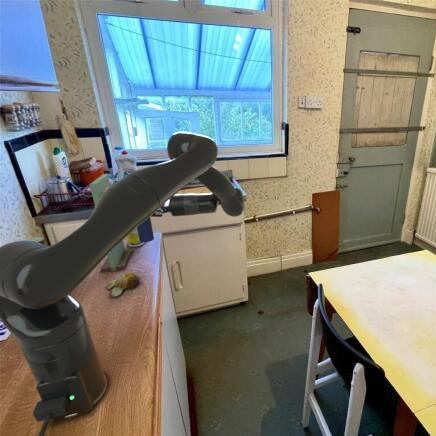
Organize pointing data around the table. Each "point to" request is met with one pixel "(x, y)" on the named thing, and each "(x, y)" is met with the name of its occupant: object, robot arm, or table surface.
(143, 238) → the t-handle plunger
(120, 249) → the green panel
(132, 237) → the pill bottle
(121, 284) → the fruit
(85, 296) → the table surface
